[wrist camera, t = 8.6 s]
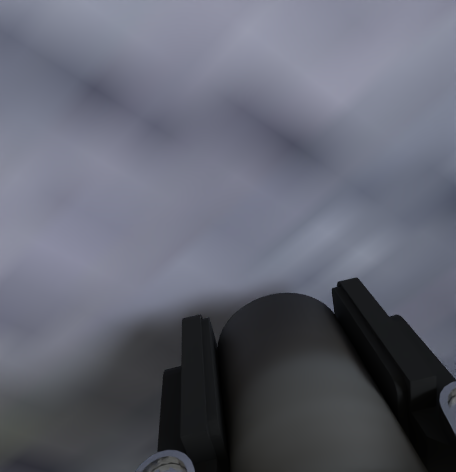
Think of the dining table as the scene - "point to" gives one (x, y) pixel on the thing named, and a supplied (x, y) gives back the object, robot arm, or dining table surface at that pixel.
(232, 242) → the dining table surface
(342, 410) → the joystick
